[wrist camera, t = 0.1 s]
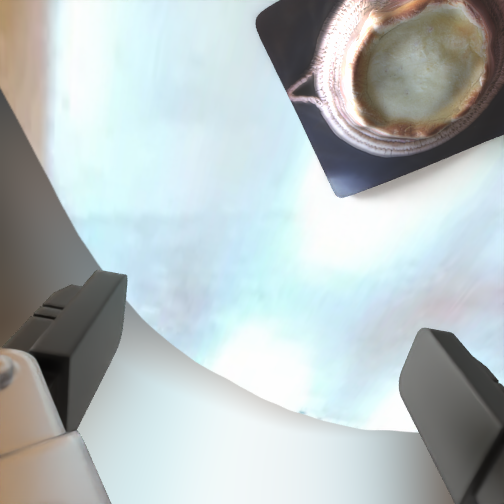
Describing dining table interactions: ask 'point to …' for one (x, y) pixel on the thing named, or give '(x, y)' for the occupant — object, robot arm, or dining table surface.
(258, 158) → the dining table surface
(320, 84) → the quiche
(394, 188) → the dining table surface
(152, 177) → the dining table surface
